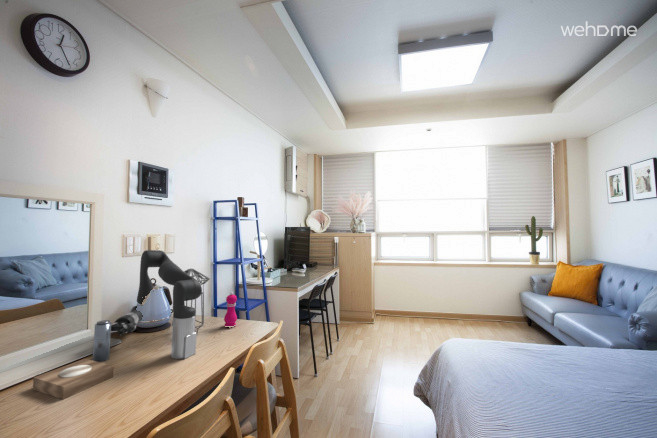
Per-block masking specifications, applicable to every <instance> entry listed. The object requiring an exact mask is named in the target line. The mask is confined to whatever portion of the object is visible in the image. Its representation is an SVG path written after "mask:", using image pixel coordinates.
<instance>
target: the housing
mask: <svg viewBox="0 0 657 438" xmlns="http://www.w3.org/2000/svg"><path fill="white" fill-rule="evenodd" d="M111 324H112V322H111V321H110V319H107V320H106V319H105V320H103V319H102V320H99V321H96V323H95V324H94V331H93V332H94V333H93V349H92V360H93V361H96V362H100V363H104V362H105V361H108V360H109V359H110V350H111V335H112V334H111V333H112V332H111Z"/></svg>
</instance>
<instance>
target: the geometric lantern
mask: <svg viewBox="0 0 657 438" xmlns="http://www.w3.org/2000/svg"><path fill="white" fill-rule="evenodd" d="M183 271H184V272H185V273H186V274H188V275H189V276H191V277H193V278H195V279H196V280H197V281H198V282H199V283H200V285H201V286H202V293H201V295H200V296H201V297H200V301H201V303H200V304H201V307H200V308H201V321H199V320H197V319H196V320H195V322H197V323H199V324H201V325H197V326H196V325H195V332H196V333H197V334H198V332H199V329H201V327H203V326H204V324H205V292H204V291H205V290H204V289H205V288H204V286H205V284H206V283H207V282H208V281H210V280H211V278H210V277H209V276H207V275H205V274H202V273H201V272H199V270H196V269H194V268H188V269H186V270H183ZM185 306H188V301H185ZM190 307H193V300H190ZM194 308H195V309H196V310H197V299H194ZM171 327H173V320H172V322H171Z"/></svg>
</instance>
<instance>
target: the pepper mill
mask: <svg viewBox="0 0 657 438" xmlns="http://www.w3.org/2000/svg"><path fill="white" fill-rule="evenodd" d="M225 301H226V307H227V310H226V313H225V315H224V317H223V321H224V322H225V323H224V327H225V326H234V325H236V326H237V320H238V316H237V313H236V311H235V310H236V308H235V307H236V304H237V303H236V302H237V301H238V299H237V295H235V294H234V292H233V291H231V292H230V294H228V295H227V296H226V298H225Z"/></svg>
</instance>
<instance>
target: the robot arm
mask: <svg viewBox="0 0 657 438" xmlns="http://www.w3.org/2000/svg"><path fill="white" fill-rule="evenodd" d="M165 252H166V251H163V250H159V249H156V250H155V249H153V250H151V249H149V250H148V249H146V250H144V251H143V252H142V254H141V257H140V263H139V264H140V265H139V284H138V292H137V296H136V303H137V304H140V305H141V304H142V302H143V300H144V299H145V296H147V295H148V294H149V293H150V291H151V290H152V289H153V288H154V285H153V282H152V280H151V278H150V276H149V273H148V270H149V268H158V272H157V274H158V277H159V278H160V280H162V281H163V282H164V283H166V284H168V285H170V286H172V287H173V288H172V316H173V317H172V321H173V326H171V327H172V329H171V330H172V331H171V346H170V347H171V348H170V357H171V358H172V359H175V360H176V359H177V360H178V359H179V360H180V359H188V358H189V357H191V356H194V355H196V351H197V336H198V335H197V334H198V333H196V332H195V331H196V328H195V327H196V321H195V320H197V308H196V309H195V307H193V306H192V307H191V306H188V305H187V306H186V301H187V302H188V301H191V300H192V301H195V299H196V300H197V299H198V298H201V297H200V296H201V293H202V292H203V286H202V285H200V284H201V283H200V282H198V280H197V278H196V277H194V278H193V277H191V276H192V275H188V274H186V273H185V272H184V271H185V270H183V269H182V268H180V267H179V266H178V265H177V264H176V263H174V262H173V260H171V259H170V257H169V256H168V255H167V253H165ZM142 297H143V298H142ZM137 306H138V305H135V306H132V308H131V310H130V311H129V312H128V313H126V314H124V315H121V316H120V317H118V318H117V319H116V320H115V321H114V322H113V323H111V333H116V332H118V336H123V335H124V334H127V333H132V332H133V331H135V330H136V329H137V325H138V324H139V323H140V322H141V321H143V320H142V317H143V315H142V313H141V312H140V311H137V310H136V308H137Z"/></svg>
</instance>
